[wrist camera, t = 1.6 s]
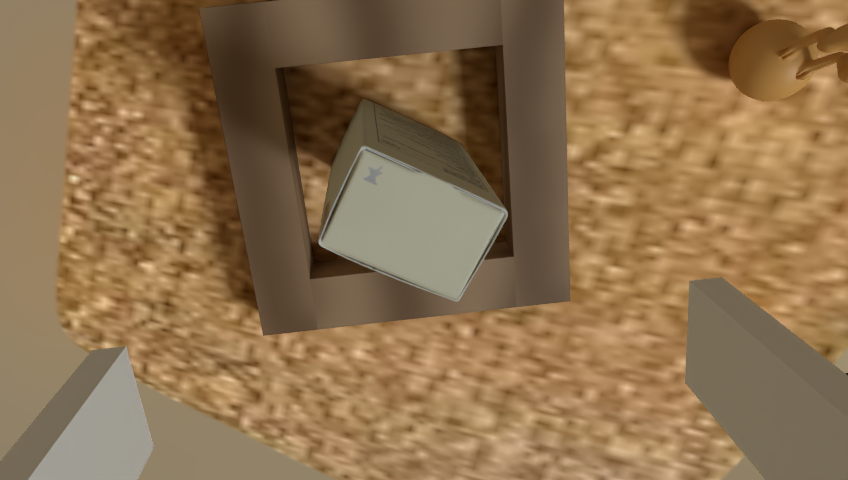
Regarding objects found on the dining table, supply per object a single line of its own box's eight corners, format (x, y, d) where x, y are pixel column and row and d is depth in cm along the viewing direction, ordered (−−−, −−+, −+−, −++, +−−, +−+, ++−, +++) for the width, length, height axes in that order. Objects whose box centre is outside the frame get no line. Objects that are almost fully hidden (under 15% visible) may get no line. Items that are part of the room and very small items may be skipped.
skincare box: (329, 167, 36) (305, 244, 25) (362, 94, 35) (353, 138, 23) (435, 215, 37) (459, 309, 26) (470, 146, 36) (512, 212, 25)
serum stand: (550, -26, 33) (562, -28, 31) (558, 283, 39) (569, 300, 37) (211, 8, 33) (198, 8, 31) (270, 315, 39) (263, 335, 36)
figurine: (675, 27, 35) (818, 38, 23) (768, -61, 34) (965, -95, 22) (764, 138, 37) (933, 196, 26) (855, 59, 36) (1073, 84, 25)
